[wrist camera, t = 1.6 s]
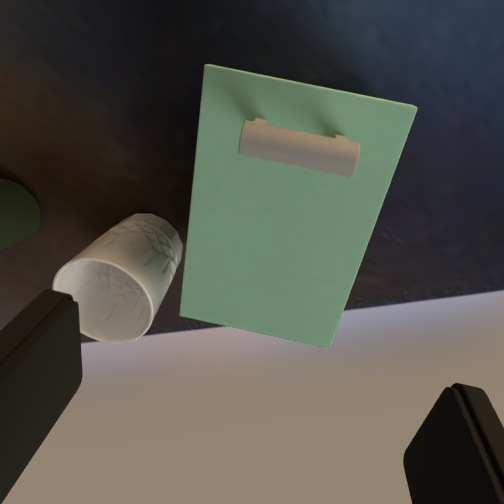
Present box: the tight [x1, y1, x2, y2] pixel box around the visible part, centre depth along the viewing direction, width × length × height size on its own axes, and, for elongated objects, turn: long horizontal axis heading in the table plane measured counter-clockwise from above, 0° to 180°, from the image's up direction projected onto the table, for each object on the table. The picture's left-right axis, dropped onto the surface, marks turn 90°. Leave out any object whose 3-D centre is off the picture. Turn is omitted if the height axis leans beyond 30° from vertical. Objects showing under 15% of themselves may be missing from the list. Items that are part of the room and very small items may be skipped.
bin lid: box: [180, 64, 417, 348], centre depth 23 cm, size 17×12×5 cm, turn 170°
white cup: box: [53, 213, 183, 343], centre depth 33 cm, size 8×8×10 cm
